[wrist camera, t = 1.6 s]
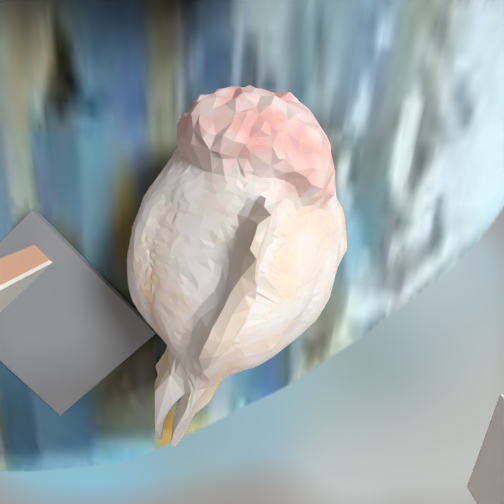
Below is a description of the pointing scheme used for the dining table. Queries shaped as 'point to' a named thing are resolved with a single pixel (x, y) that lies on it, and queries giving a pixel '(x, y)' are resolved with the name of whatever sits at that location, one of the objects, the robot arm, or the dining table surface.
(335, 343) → the dining table surface
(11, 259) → the tile
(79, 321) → the mat
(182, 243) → the white garlic bulb
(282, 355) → the dining table surface
